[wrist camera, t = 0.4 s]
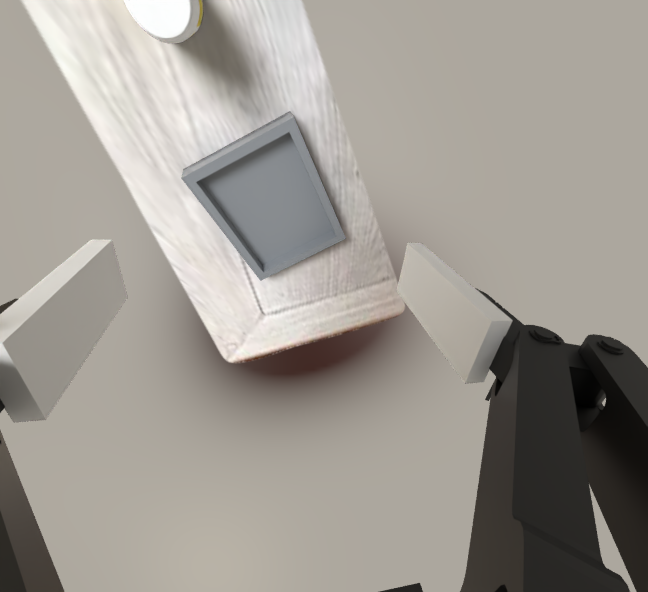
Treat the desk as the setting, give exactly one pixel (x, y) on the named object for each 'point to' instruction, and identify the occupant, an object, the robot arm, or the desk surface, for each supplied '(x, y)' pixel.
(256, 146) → the tray
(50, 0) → the desk surface
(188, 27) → the supplement bottle
